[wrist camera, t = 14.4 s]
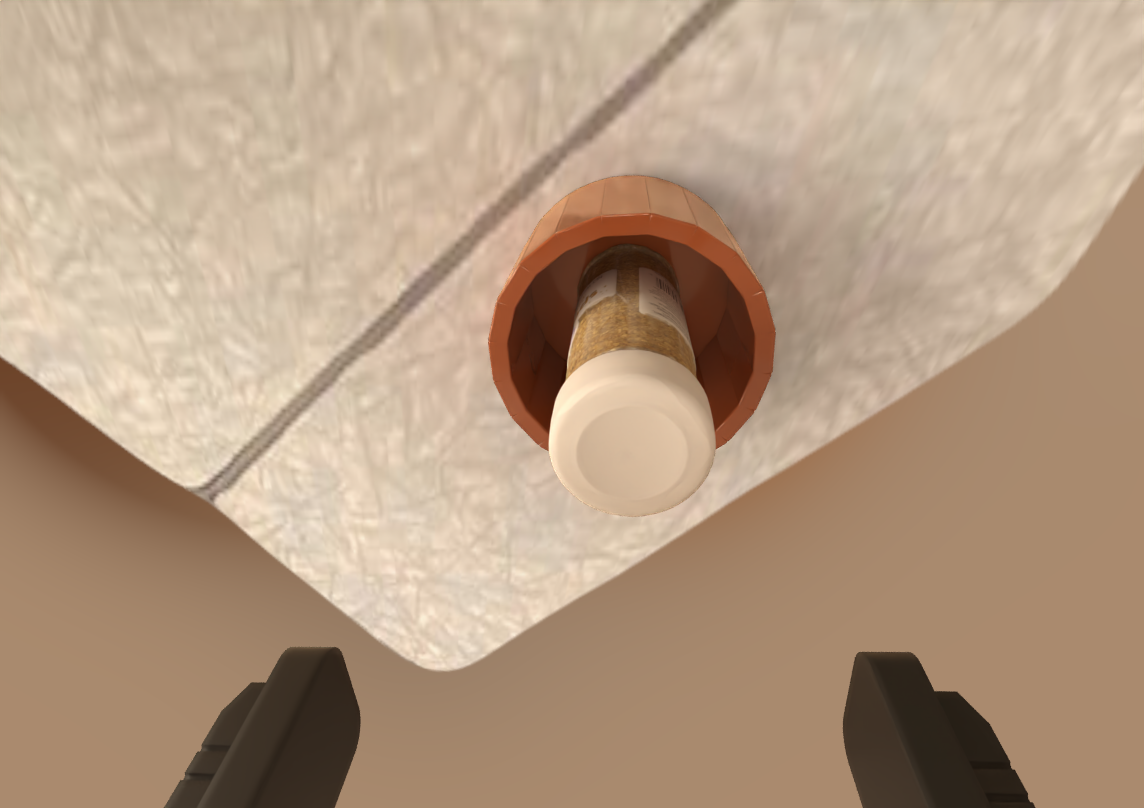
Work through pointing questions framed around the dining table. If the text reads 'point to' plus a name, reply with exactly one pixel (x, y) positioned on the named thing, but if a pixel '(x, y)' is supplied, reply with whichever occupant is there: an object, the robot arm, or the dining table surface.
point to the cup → (707, 291)
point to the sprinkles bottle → (631, 391)
